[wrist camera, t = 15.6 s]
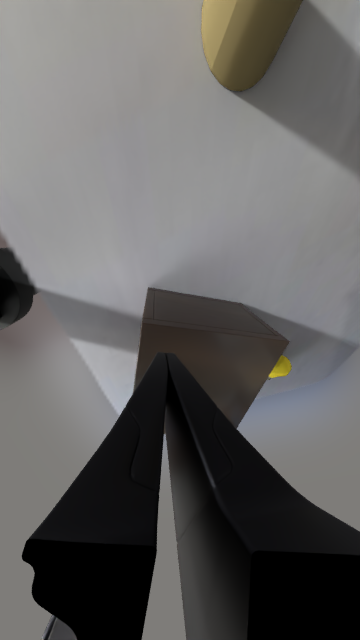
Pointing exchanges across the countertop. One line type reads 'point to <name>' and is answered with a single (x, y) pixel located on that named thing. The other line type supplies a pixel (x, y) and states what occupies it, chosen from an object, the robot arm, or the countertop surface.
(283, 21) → the cork
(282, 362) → the light bulb
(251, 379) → the cabinet
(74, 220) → the countertop surface
